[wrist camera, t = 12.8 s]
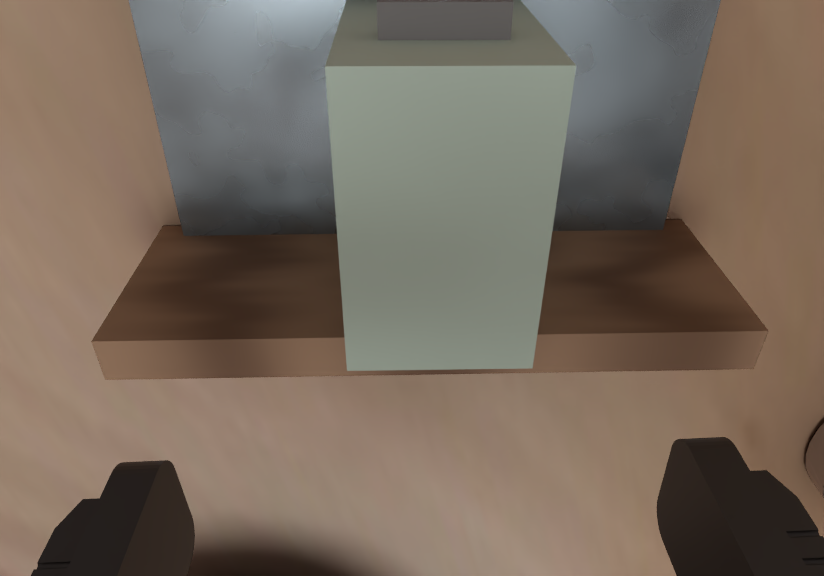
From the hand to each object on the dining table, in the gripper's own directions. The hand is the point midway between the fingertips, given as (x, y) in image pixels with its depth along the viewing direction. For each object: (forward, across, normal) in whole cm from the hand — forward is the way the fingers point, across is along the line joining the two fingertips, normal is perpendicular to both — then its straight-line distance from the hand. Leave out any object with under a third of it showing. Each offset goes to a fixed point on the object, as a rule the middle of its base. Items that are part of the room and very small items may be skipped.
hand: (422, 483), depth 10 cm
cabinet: (+14, -1, -1) cm, 14 cm away
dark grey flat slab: (+15, -1, -2) cm, 15 cm away
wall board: (+15, -1, +4) cm, 15 cm away
